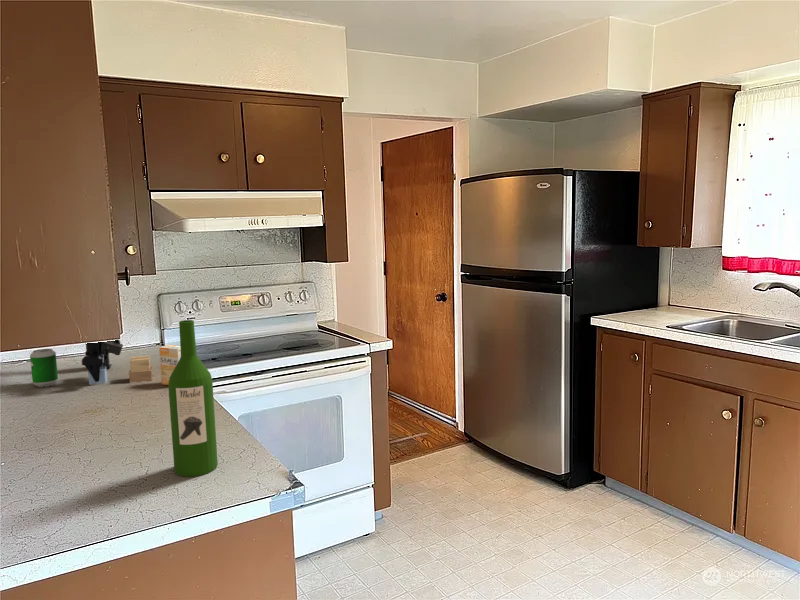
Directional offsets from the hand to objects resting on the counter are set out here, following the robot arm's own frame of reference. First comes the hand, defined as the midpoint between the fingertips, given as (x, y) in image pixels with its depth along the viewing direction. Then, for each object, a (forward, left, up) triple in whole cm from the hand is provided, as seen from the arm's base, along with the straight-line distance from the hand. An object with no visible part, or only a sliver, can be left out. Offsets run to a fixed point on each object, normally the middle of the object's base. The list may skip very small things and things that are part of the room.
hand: (98, 379), depth 203 cm
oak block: (+2, +14, +3) cm, 14 cm away
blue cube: (0, 0, -1) cm, 1 cm away
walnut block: (+2, +14, -1) cm, 14 cm away
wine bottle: (+92, +31, -1) cm, 97 cm away
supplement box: (+14, +25, -1) cm, 29 cm away
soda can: (-5, -17, -1) cm, 18 cm away
